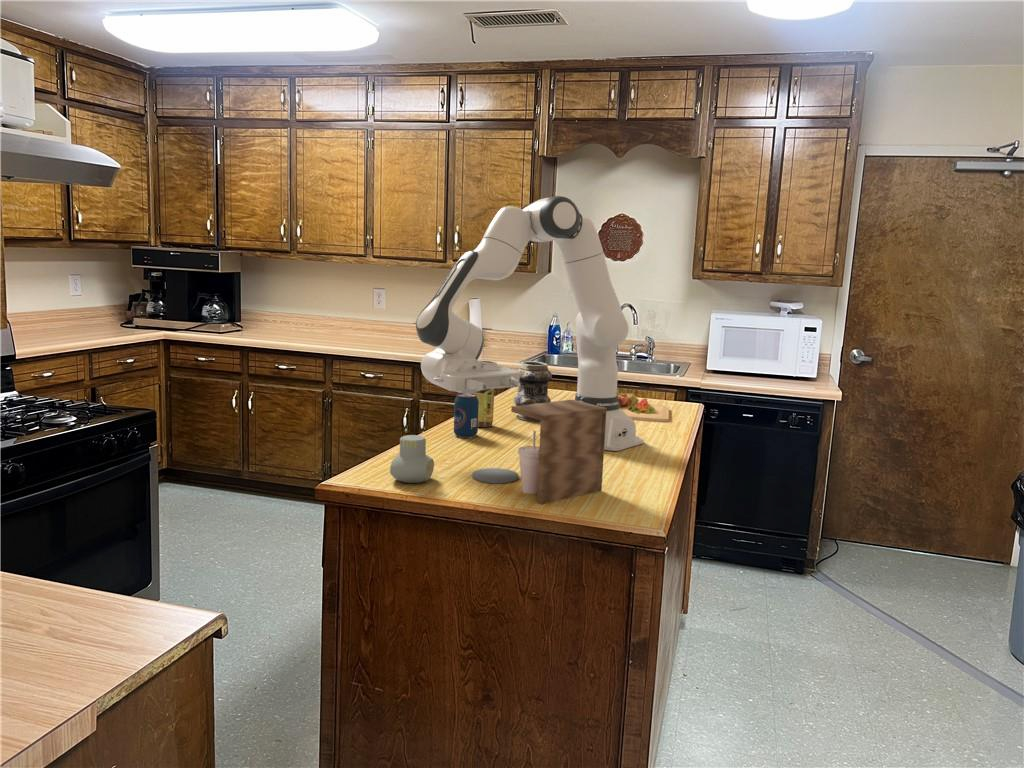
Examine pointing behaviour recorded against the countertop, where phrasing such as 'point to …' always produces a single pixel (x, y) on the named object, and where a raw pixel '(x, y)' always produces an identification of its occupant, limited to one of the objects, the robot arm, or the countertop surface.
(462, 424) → the soda can
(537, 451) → the smoothie
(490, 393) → the sauce bottle
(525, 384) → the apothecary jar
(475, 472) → the coaster
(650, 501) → the countertop surface
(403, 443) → the air freshener
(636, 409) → the cutting board
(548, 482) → the shelf
